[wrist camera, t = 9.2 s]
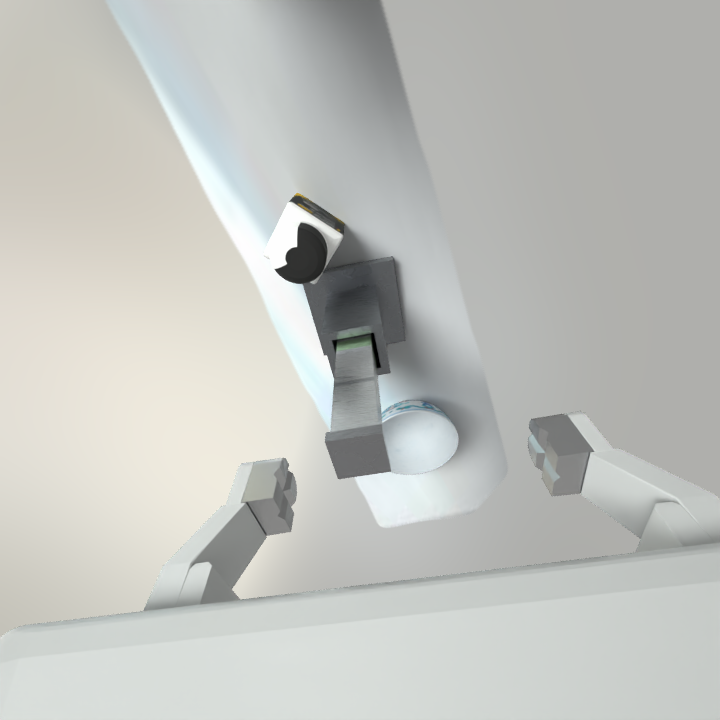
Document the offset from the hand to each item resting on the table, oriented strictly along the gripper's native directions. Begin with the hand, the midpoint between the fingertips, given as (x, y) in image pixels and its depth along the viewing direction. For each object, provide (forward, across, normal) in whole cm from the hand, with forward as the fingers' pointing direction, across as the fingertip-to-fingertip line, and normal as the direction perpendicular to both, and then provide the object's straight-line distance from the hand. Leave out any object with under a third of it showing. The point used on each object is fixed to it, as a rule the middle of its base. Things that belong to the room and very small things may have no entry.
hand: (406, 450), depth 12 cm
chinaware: (+41, -1, +36) cm, 55 cm away
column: (+34, +4, +13) cm, 36 cm away
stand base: (+41, +4, +13) cm, 43 cm away
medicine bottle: (+41, +8, +1) cm, 42 cm away
